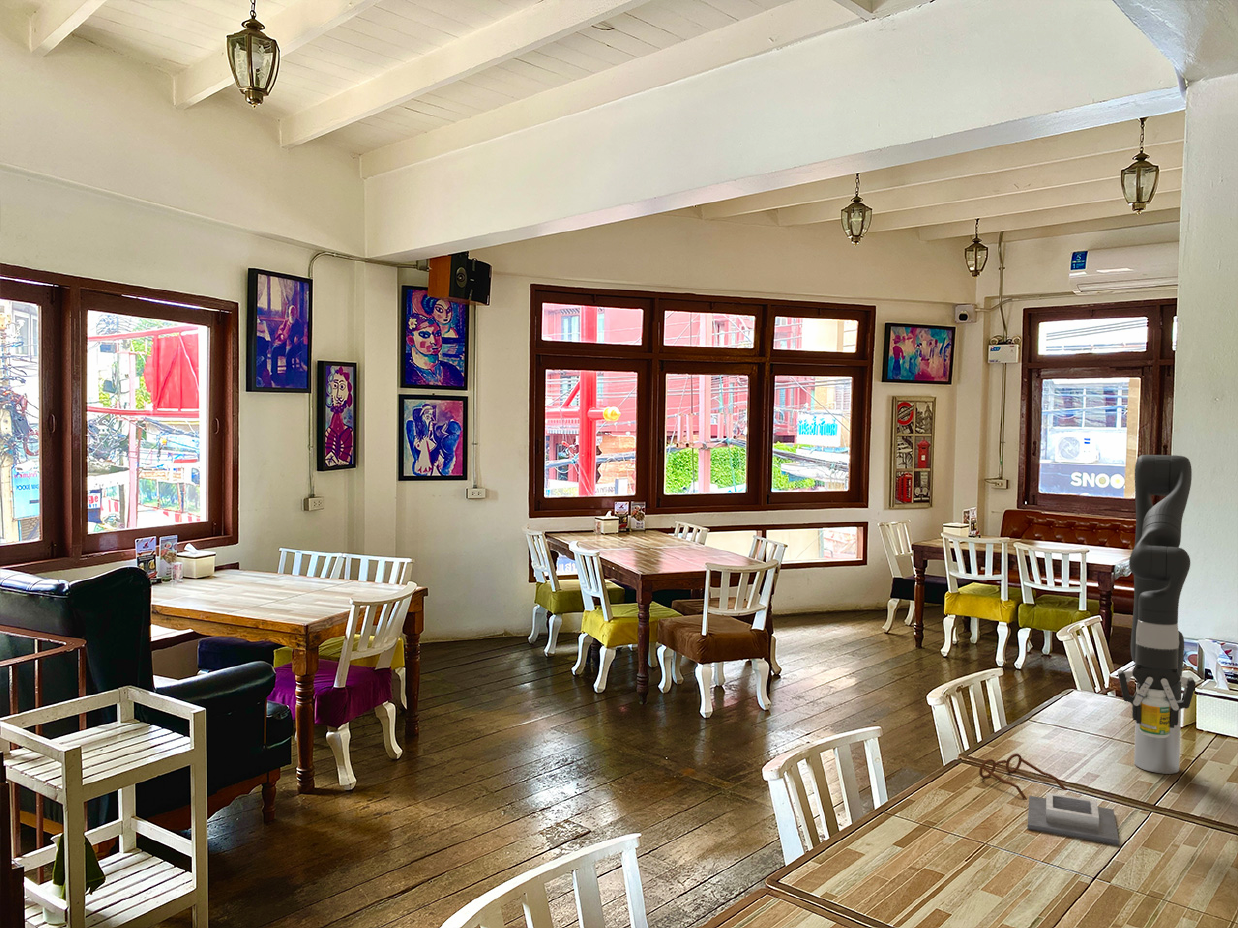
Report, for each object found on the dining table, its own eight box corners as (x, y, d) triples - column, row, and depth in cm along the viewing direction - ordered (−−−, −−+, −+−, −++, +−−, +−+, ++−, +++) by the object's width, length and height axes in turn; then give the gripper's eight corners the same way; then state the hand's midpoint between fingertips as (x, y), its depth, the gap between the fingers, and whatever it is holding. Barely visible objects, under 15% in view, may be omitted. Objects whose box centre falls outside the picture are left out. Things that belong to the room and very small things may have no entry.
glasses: (1018, 771, 212) (1018, 750, 212) (1067, 791, 201) (1067, 769, 201) (977, 780, 207) (978, 758, 207) (1025, 801, 195) (1026, 778, 195)
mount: (1029, 799, 195) (1029, 783, 195) (1113, 813, 188) (1113, 797, 188) (1027, 829, 180) (1028, 811, 180) (1118, 845, 174) (1119, 827, 173)
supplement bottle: (1147, 727, 189) (1148, 682, 189) (1174, 735, 185) (1176, 689, 184) (1134, 732, 186) (1135, 686, 186) (1161, 740, 182) (1163, 693, 181)
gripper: (1195, 642, 185) (1193, 724, 186) (1115, 635, 191) (1113, 714, 192) (1201, 651, 178) (1198, 735, 179) (1118, 643, 184) (1115, 725, 185)
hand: (1154, 724), depth 185 cm, fingers closed on supplement bottle, 5 cm apart
